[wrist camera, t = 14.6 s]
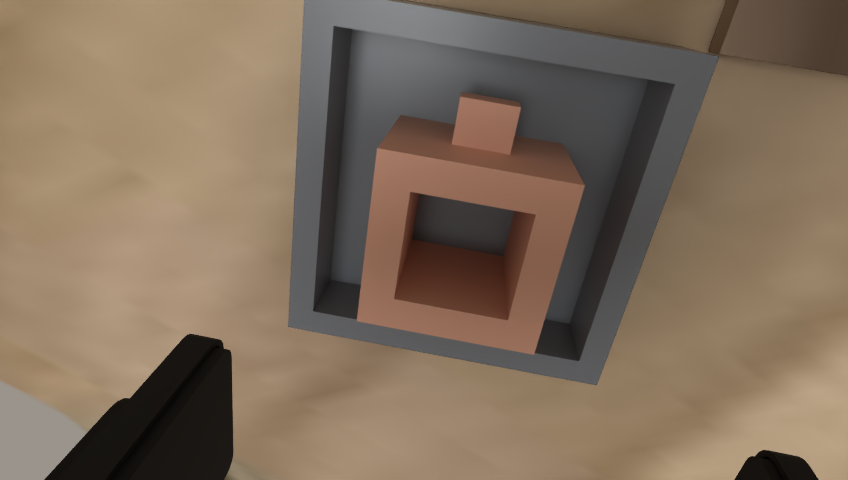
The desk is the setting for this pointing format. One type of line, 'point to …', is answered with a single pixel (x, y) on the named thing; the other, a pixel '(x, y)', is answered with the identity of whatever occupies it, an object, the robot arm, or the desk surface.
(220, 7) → the desk surface
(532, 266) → the ring
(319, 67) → the tray
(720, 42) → the board
